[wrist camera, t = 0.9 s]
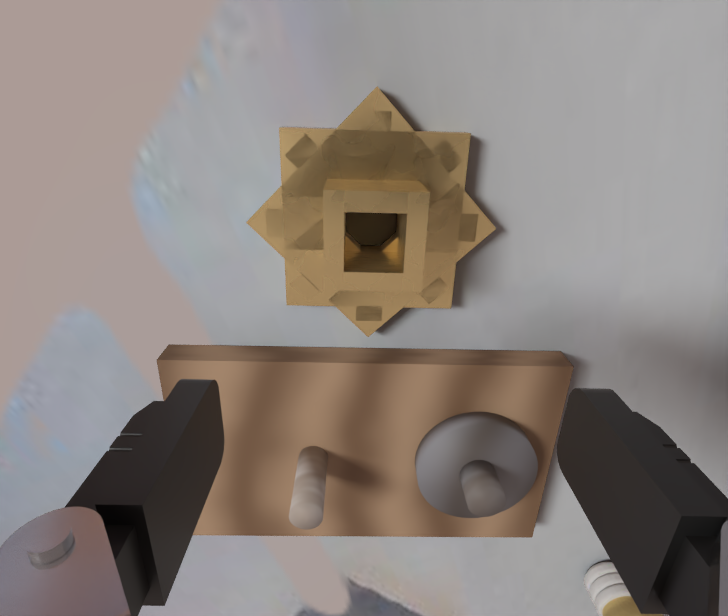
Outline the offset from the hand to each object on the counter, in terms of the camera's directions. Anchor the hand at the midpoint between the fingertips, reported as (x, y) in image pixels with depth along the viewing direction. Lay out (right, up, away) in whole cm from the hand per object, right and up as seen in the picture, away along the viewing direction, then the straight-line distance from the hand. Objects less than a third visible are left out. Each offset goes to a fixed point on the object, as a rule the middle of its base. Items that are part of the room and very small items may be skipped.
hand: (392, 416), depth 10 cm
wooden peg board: (-1, -7, +23) cm, 24 cm away
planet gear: (0, +8, +16) cm, 18 cm away
